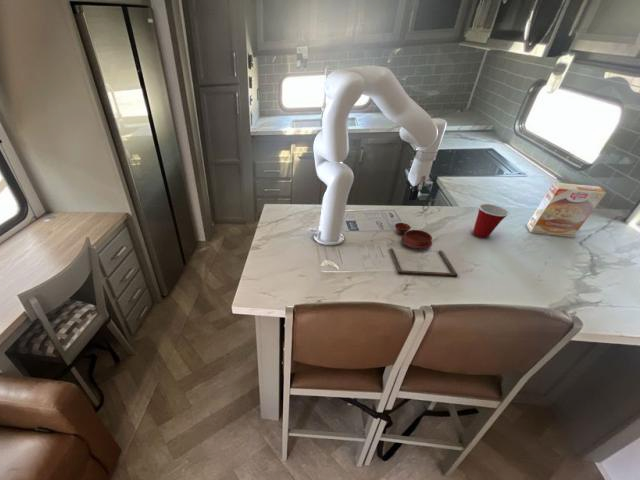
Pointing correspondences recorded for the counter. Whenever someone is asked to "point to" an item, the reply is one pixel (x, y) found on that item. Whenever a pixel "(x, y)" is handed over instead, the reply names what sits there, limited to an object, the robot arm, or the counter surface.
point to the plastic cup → (488, 219)
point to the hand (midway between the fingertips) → (411, 199)
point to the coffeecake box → (565, 209)
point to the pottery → (414, 237)
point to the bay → (452, 274)
